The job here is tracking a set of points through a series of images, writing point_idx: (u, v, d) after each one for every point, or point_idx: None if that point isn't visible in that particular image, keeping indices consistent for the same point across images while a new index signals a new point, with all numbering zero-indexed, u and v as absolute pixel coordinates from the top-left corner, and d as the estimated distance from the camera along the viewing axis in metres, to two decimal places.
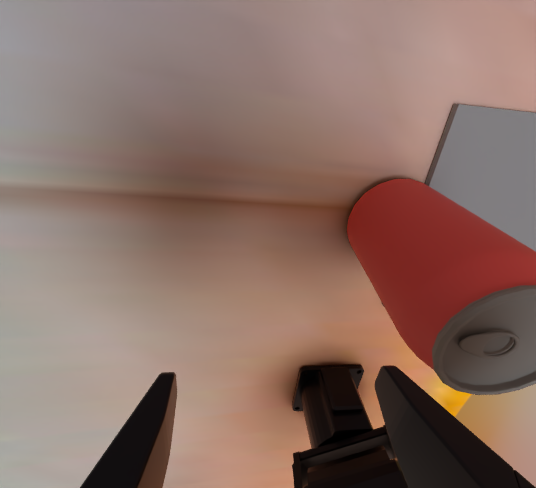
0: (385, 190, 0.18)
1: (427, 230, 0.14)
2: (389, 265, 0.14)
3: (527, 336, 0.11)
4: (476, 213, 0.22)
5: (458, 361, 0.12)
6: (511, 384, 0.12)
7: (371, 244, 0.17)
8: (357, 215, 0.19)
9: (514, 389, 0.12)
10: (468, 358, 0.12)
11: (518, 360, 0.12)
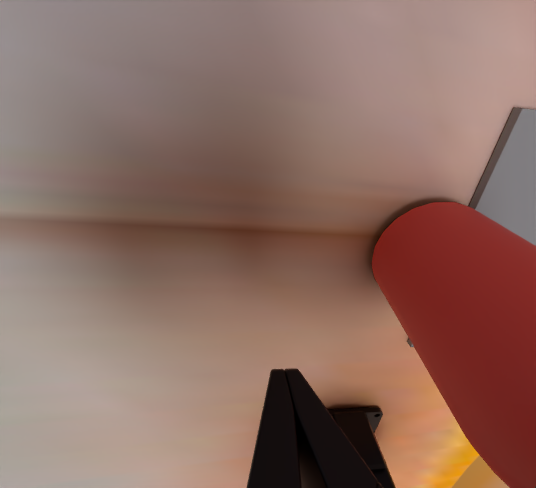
0: (425, 218, 0.14)
1: (505, 290, 0.10)
2: (446, 333, 0.10)
3: None
4: (529, 241, 0.18)
5: None
6: None
7: (413, 294, 0.13)
8: (388, 248, 0.15)
9: None
10: None
11: None
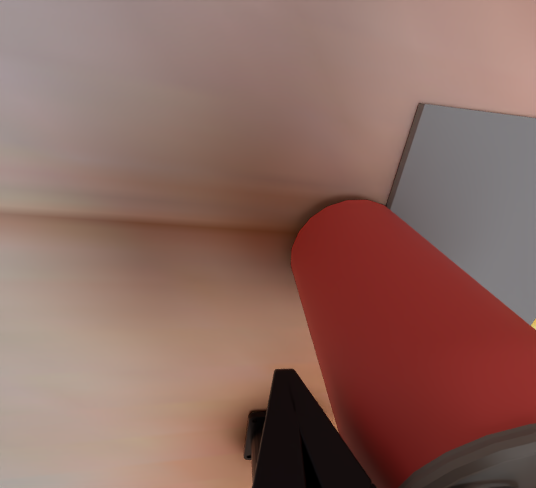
0: (333, 216, 0.14)
1: (381, 290, 0.09)
2: (329, 338, 0.10)
3: None
4: (453, 241, 0.18)
5: None
6: None
7: (311, 297, 0.12)
8: (300, 249, 0.15)
9: None
10: None
11: None
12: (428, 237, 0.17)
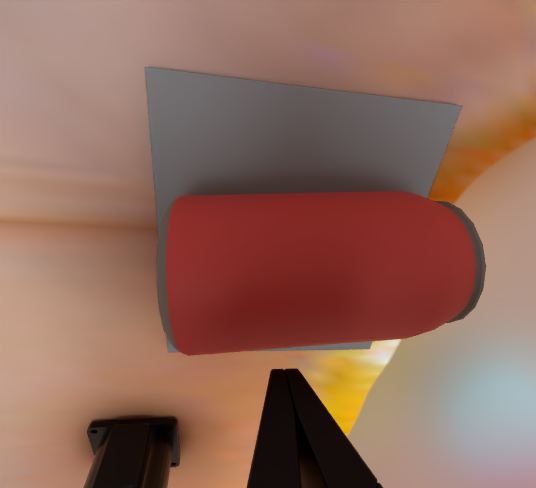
0: (211, 225, 0.10)
1: (371, 223, 0.10)
2: (381, 289, 0.10)
3: None
4: None
5: None
6: None
7: (313, 298, 0.10)
8: (212, 293, 0.09)
9: None
10: None
11: None
12: None
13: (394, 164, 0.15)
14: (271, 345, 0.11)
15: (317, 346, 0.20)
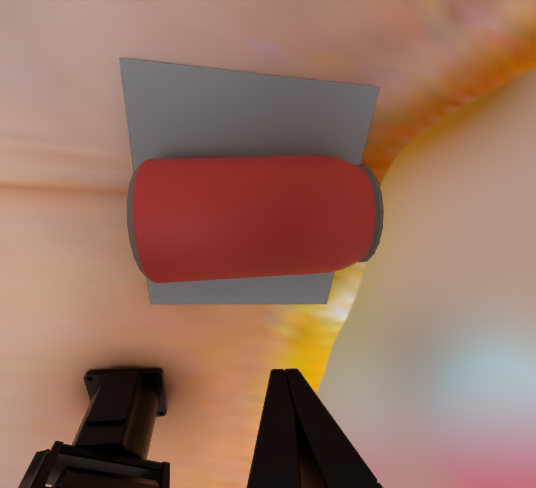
0: (167, 177, 0.13)
1: (291, 176, 0.14)
2: (296, 224, 0.13)
3: None
4: None
5: None
6: None
7: (244, 231, 0.13)
8: (167, 225, 0.13)
9: None
10: None
11: None
12: None
13: (328, 136, 0.18)
14: (218, 272, 0.14)
15: (280, 300, 0.24)
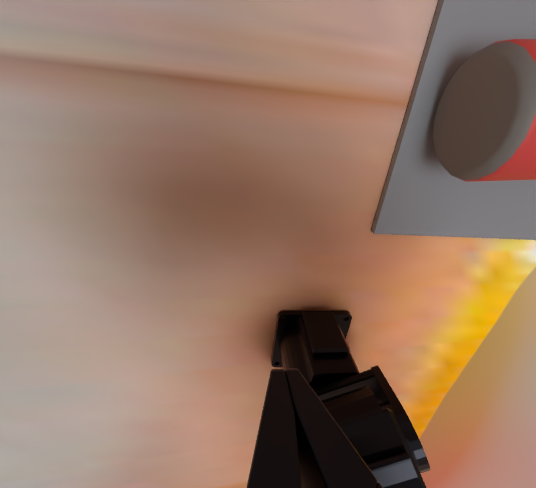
0: None
1: None
2: None
3: None
4: None
5: None
6: None
7: None
8: None
9: None
10: None
11: None
12: None
13: None
14: None
15: (495, 234, 0.23)
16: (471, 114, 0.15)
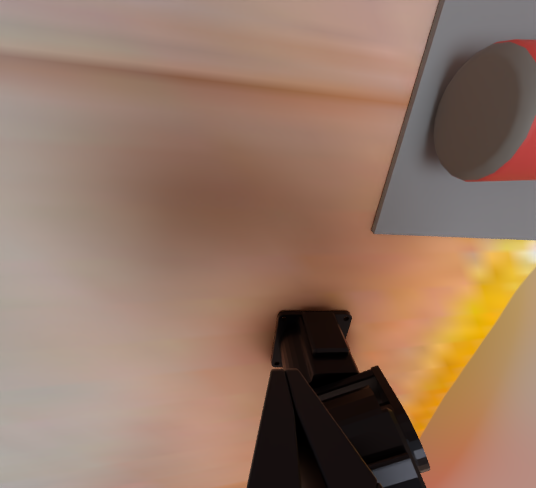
0: None
1: None
2: None
3: None
4: None
5: None
6: None
7: None
8: None
9: None
10: None
11: None
12: None
13: None
14: None
15: (495, 234, 0.23)
16: (471, 114, 0.15)
